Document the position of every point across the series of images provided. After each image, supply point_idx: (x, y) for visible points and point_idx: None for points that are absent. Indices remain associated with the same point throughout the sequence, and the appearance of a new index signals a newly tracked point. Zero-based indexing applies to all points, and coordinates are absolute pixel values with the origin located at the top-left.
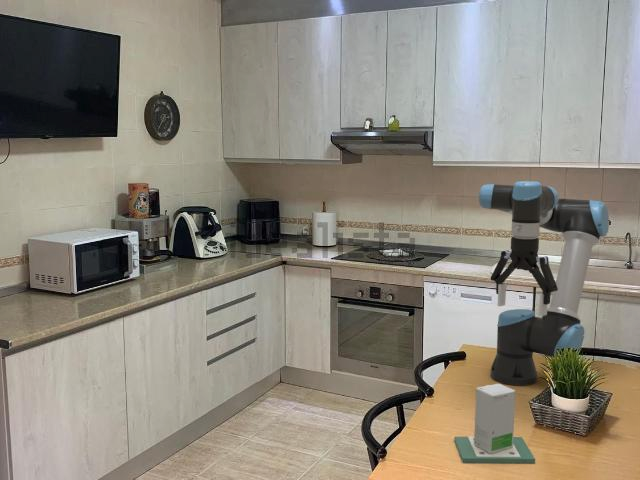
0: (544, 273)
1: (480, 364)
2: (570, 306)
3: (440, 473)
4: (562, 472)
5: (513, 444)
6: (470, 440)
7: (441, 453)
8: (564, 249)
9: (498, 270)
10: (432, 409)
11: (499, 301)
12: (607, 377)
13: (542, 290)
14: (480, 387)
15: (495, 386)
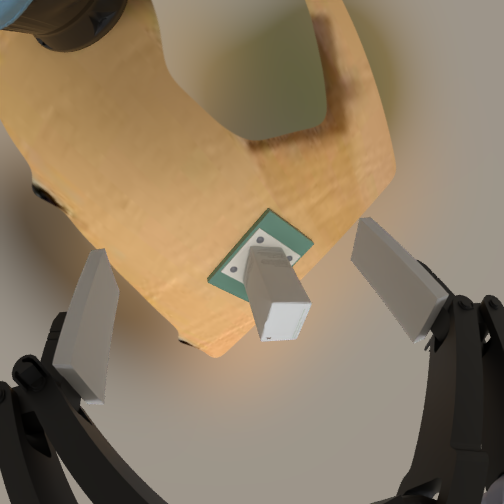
0: (488, 428)
1: (5, 32)
2: None
3: (252, 325)
4: (342, 231)
5: (277, 240)
6: (231, 276)
7: (222, 306)
8: None
9: (73, 498)
10: (107, 241)
11: (113, 312)
12: None
13: (431, 349)
14: (265, 337)
15: (278, 318)
